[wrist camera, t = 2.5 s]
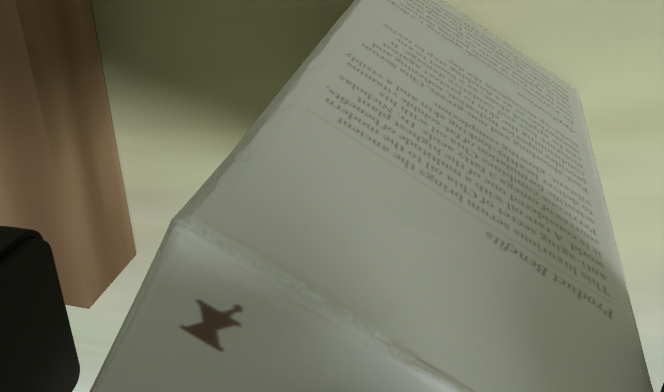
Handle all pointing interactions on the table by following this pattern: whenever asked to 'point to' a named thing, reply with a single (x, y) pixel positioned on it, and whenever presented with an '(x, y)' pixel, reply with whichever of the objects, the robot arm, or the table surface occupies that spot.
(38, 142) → the block
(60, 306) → the robot arm
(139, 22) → the table surface
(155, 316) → the skincare box
